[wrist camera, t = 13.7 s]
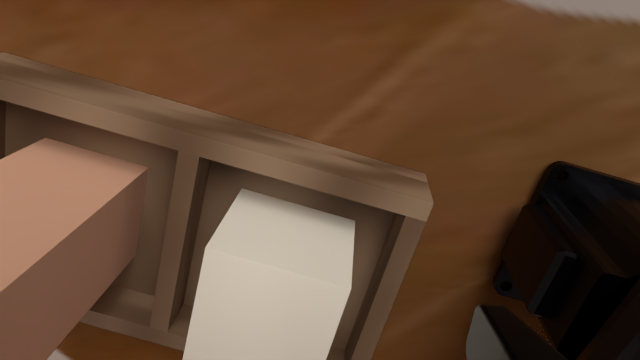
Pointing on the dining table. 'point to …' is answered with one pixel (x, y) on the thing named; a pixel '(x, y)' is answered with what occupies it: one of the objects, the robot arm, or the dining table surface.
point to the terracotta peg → (61, 239)
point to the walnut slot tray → (215, 196)
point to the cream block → (271, 283)
